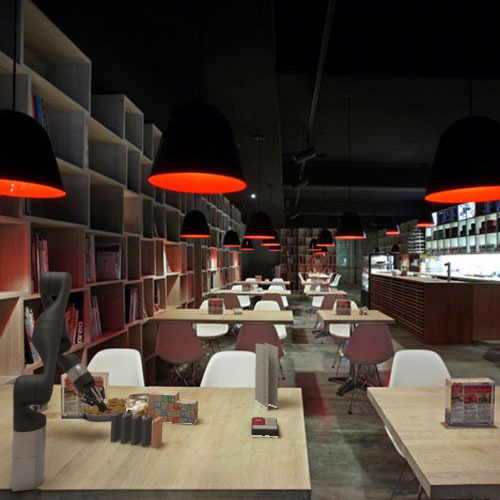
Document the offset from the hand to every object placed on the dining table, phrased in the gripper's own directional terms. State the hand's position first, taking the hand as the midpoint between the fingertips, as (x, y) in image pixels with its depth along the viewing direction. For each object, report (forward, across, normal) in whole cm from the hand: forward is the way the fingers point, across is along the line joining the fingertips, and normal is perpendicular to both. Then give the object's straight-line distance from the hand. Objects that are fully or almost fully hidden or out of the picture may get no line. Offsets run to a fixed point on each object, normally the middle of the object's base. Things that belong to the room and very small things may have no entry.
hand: (105, 411), depth 162 cm
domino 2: (+14, 0, 0) cm, 14 cm away
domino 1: (+11, 0, +4) cm, 12 cm away
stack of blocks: (+20, +25, -4) cm, 32 cm away
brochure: (+45, +58, -29) cm, 79 cm away
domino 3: (+18, 0, -3) cm, 18 cm away
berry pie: (-3, +24, +19) cm, 31 cm away
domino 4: (+21, 0, -6) cm, 22 cm away
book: (+50, +27, -34) cm, 66 cm away
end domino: (+24, 0, -9) cm, 26 cm away
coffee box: (-27, +16, +43) cm, 53 cm away
